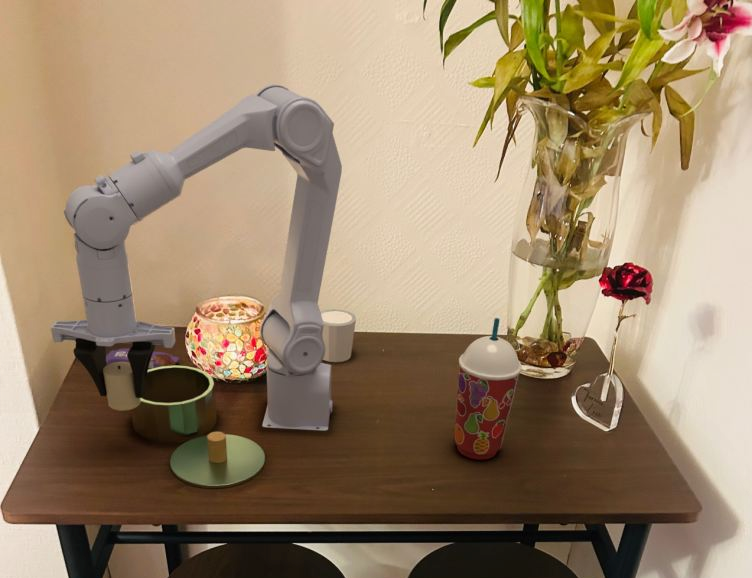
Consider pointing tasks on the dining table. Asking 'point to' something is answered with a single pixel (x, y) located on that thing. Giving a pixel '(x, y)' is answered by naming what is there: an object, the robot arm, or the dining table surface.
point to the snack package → (156, 360)
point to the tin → (176, 404)
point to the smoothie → (485, 395)
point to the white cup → (338, 334)
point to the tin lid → (217, 461)
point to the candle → (120, 386)
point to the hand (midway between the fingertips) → (123, 393)
